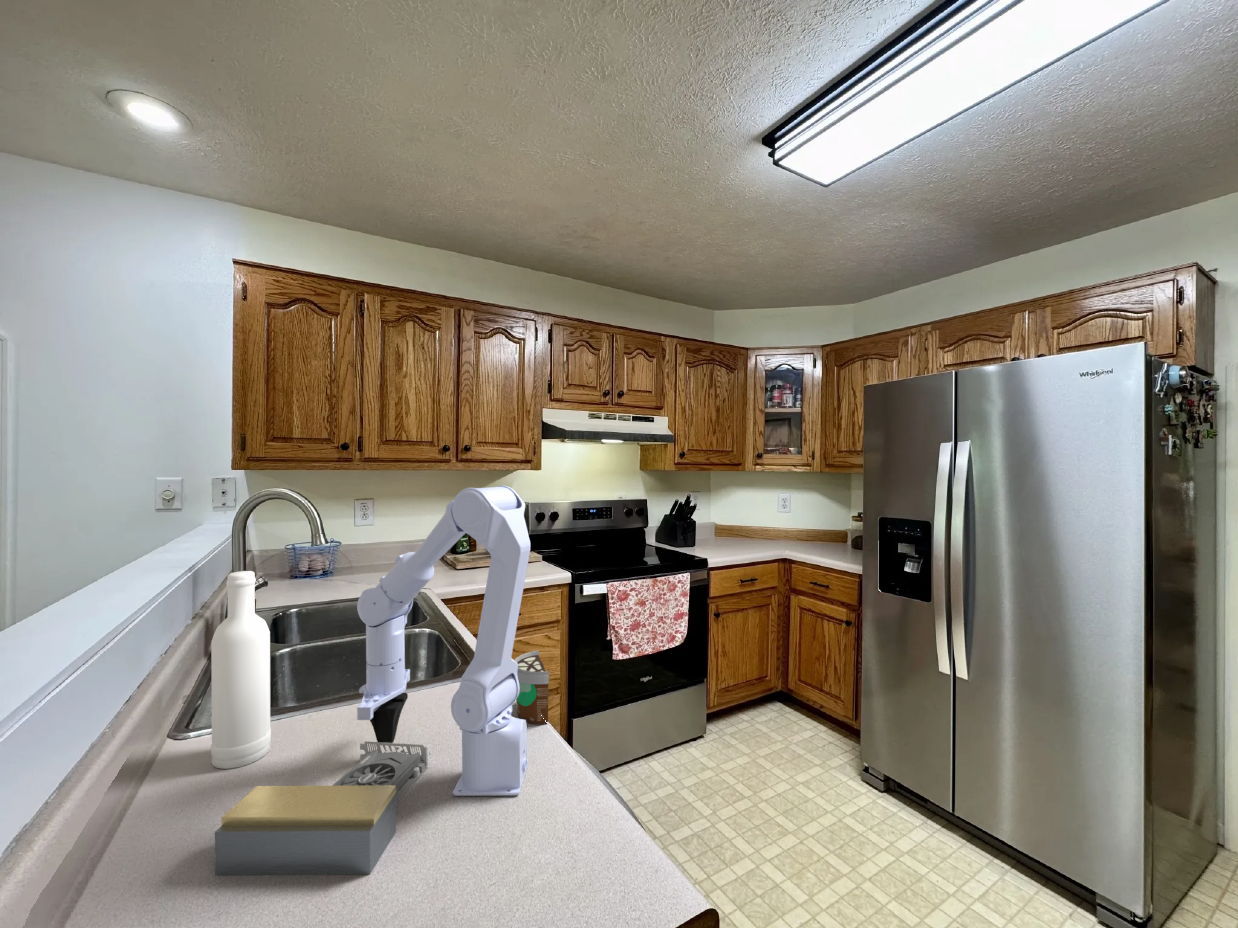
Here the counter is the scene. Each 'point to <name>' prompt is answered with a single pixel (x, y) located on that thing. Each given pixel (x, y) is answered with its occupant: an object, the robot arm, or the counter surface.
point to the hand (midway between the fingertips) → (386, 743)
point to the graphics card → (388, 767)
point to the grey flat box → (306, 830)
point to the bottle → (240, 679)
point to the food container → (532, 689)
